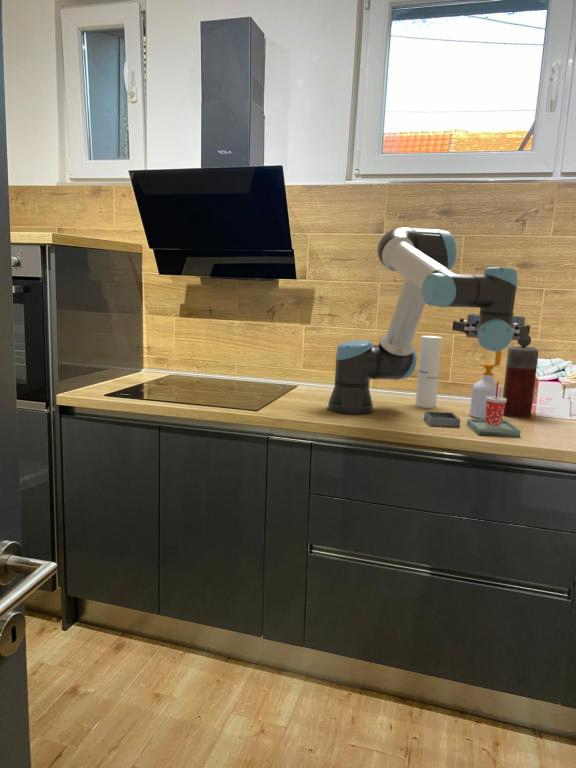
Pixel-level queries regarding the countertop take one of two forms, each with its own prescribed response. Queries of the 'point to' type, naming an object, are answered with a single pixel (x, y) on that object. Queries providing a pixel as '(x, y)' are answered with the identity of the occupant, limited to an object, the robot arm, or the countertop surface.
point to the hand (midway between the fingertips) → (489, 325)
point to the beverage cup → (494, 411)
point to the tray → (505, 429)
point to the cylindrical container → (428, 371)
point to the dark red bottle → (520, 378)
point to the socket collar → (441, 419)
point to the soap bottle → (484, 390)
